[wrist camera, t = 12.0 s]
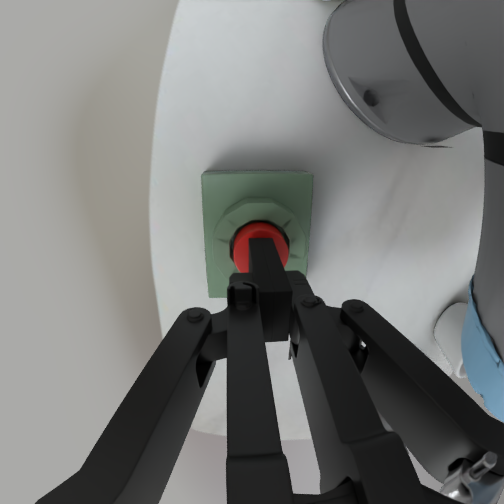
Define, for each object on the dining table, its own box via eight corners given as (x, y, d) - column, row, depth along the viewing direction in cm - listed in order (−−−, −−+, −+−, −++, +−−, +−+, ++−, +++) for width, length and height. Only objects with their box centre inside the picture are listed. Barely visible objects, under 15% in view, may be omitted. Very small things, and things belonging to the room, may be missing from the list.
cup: (482, 276, 27) (518, 305, 19) (476, 317, 30) (505, 347, 22) (428, 311, 28) (463, 350, 20) (425, 350, 31) (452, 388, 23)
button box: (204, 171, 20) (197, 177, 17) (305, 171, 21) (320, 177, 17) (210, 285, 24) (207, 310, 20) (298, 282, 25) (309, 306, 21)
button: (232, 222, 18) (232, 230, 17) (285, 221, 19) (290, 229, 17) (234, 269, 20) (234, 281, 18) (283, 268, 20) (287, 279, 18)
